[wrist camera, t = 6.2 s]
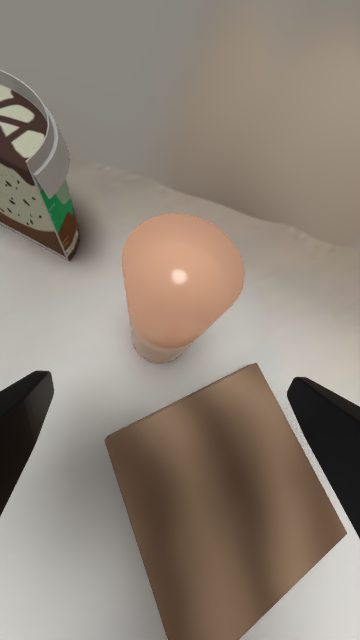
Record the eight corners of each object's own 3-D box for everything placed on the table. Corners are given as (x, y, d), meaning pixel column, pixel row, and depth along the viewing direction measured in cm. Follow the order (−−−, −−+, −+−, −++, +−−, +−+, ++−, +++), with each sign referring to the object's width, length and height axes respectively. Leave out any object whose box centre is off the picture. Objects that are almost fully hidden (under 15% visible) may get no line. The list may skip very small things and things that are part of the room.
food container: (116, 228, 23) (100, 116, 14) (82, 268, 21) (35, 166, 11) (18, 175, 23) (-65, 26, 14) (-27, 209, 20) (-165, 58, 11)
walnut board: (180, 660, 13) (184, 692, 12) (107, 436, 16) (104, 440, 15) (330, 522, 17) (347, 533, 16) (248, 364, 20) (256, 362, 19)
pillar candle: (144, 372, 18) (151, 341, 7) (124, 321, 20) (103, 226, 8) (195, 350, 20) (265, 296, 9) (173, 303, 21) (211, 204, 10)
